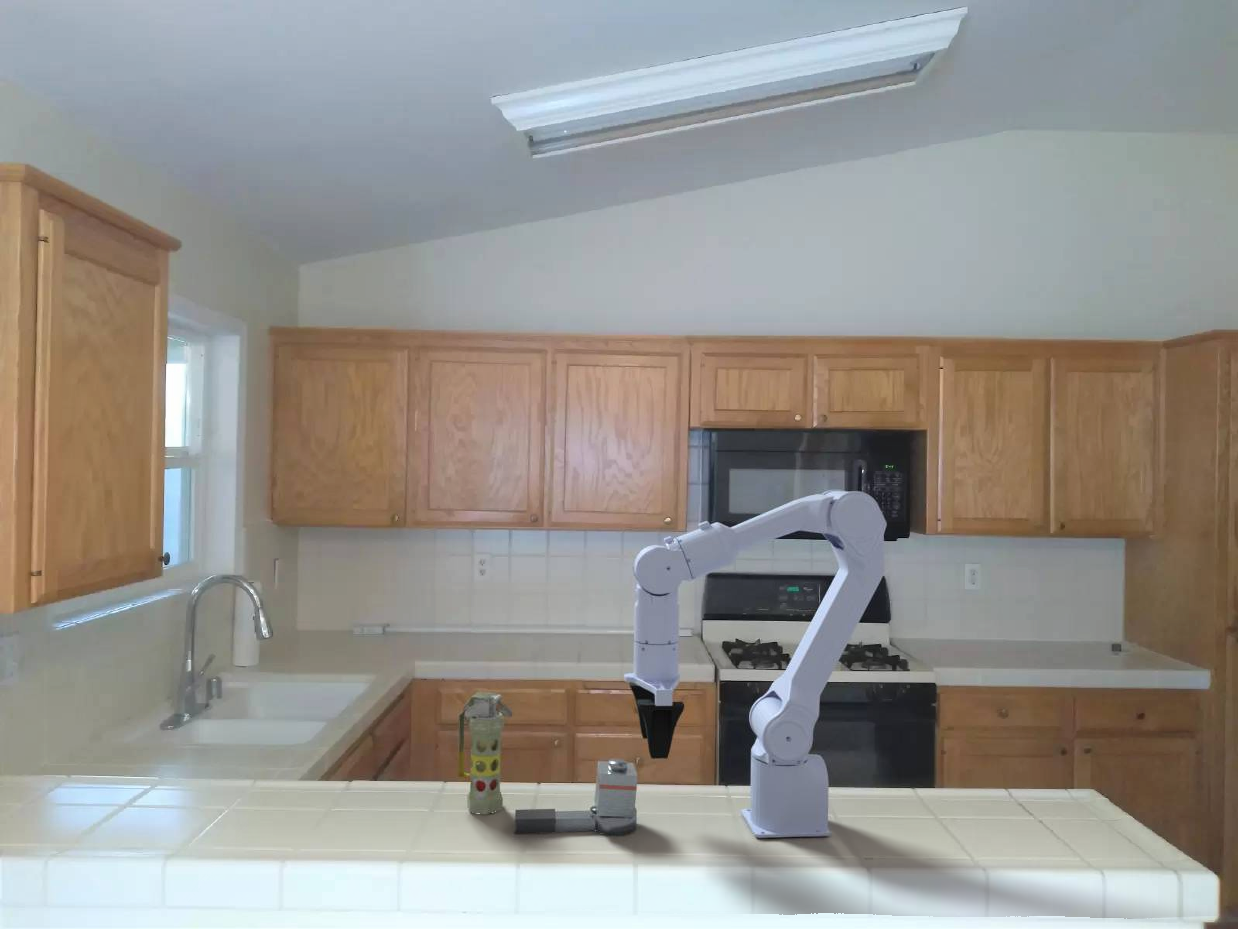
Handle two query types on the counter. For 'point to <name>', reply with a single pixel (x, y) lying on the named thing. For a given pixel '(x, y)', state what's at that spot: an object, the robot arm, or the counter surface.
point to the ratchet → (571, 822)
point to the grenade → (483, 751)
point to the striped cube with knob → (615, 788)
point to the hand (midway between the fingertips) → (654, 747)
